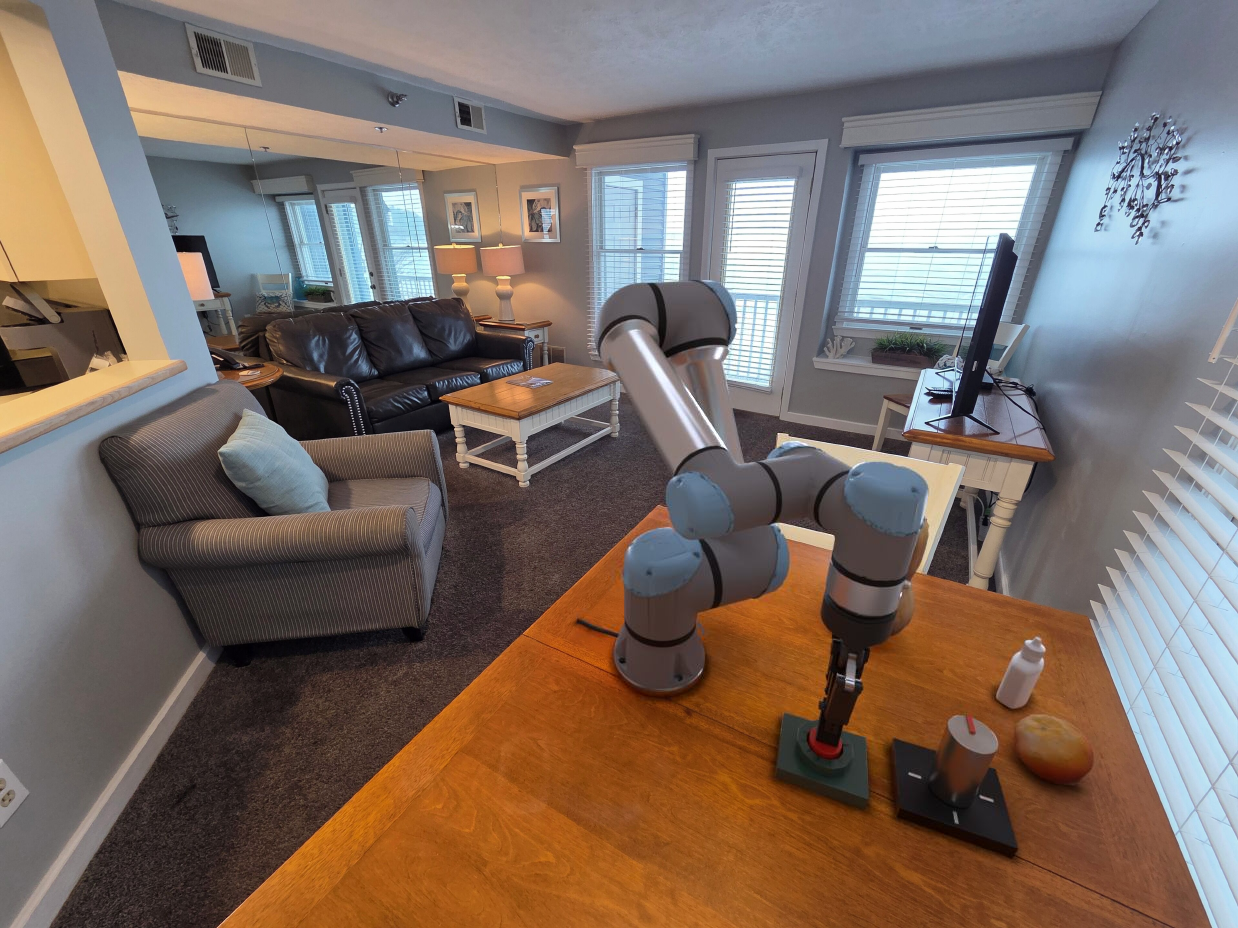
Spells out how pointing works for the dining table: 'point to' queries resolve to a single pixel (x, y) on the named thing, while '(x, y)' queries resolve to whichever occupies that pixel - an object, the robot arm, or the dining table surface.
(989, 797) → the dial panel
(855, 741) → the button box
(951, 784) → the dial
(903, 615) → the butternut squash
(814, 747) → the button
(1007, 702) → the eye dropper bottle
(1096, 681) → the dining table surface
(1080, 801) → the dining table surface
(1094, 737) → the dining table surface
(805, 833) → the dining table surface
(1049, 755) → the fruit
